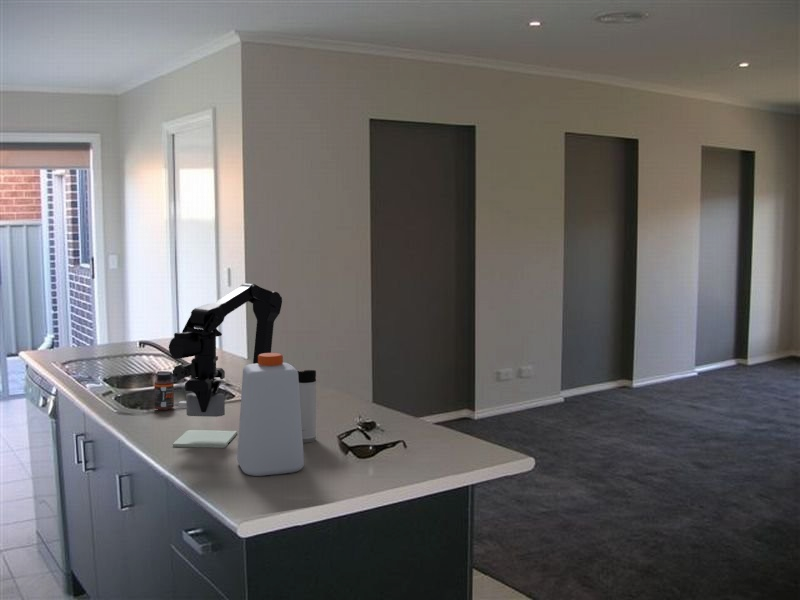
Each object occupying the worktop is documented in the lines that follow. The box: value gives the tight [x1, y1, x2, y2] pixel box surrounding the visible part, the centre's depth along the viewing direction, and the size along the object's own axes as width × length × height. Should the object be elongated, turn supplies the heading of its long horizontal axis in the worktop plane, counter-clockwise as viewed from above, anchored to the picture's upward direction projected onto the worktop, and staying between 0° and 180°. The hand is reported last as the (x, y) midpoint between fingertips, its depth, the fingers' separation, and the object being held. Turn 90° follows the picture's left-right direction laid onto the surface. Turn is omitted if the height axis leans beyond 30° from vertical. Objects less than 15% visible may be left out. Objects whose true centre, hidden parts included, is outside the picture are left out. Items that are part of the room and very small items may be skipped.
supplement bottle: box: [153, 372, 175, 411], centre depth 250 cm, size 6×6×11 cm
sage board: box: [172, 429, 238, 449], centre depth 215 cm, size 14×14×1 cm
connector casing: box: [177, 392, 226, 418], centre depth 214 cm, size 12×4×6 cm, turn 89°
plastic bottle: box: [236, 352, 305, 477], centre depth 191 cm, size 15×15×28 cm
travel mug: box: [297, 369, 317, 444], centre depth 215 cm, size 6×7×20 cm
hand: (205, 410), depth 214 cm, fingers closed on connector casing, 4 cm apart
